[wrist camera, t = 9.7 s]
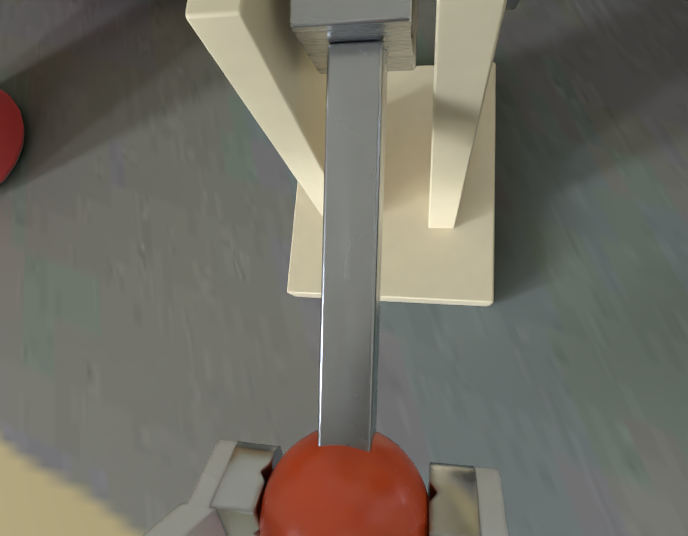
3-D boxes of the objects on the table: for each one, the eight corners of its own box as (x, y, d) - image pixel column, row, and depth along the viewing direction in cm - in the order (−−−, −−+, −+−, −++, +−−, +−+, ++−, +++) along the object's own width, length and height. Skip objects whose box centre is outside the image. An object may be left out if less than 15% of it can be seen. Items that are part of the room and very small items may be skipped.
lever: (428, 551, 11) (428, 693, 8) (288, 530, 12) (228, 653, 8) (451, -46, 10) (464, -196, 7) (299, -34, 11) (239, -164, 7)
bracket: (489, 306, 18) (636, 182, 6) (294, 296, 19) (68, 180, 7) (491, 79, 20) (605, -388, 8) (314, 85, 21) (164, -298, 9)
